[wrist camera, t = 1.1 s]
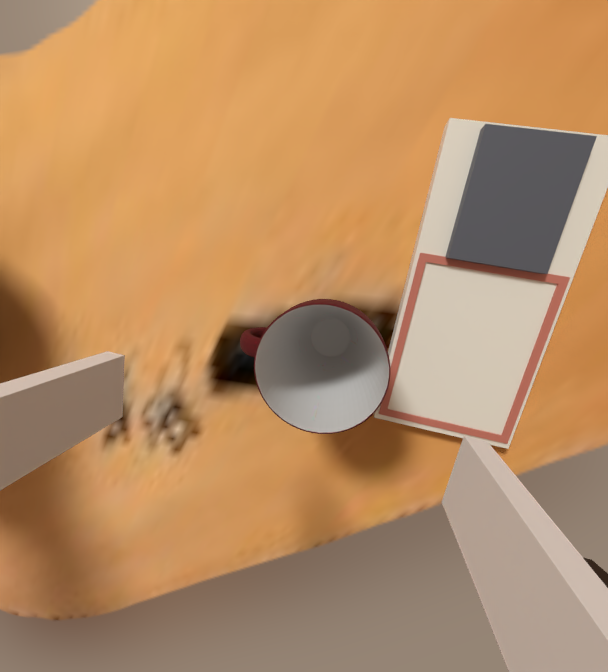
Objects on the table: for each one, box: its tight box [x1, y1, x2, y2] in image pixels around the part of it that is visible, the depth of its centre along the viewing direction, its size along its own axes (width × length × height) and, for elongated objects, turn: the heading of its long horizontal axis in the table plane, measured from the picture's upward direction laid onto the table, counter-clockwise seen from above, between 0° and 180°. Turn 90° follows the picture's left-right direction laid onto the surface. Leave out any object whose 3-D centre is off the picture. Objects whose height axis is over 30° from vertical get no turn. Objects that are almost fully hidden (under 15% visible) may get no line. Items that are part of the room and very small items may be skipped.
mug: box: [240, 299, 390, 434], centre depth 22 cm, size 10×8×10 cm
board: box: [373, 118, 608, 449], centre depth 23 cm, size 12×24×2 cm, turn 170°
